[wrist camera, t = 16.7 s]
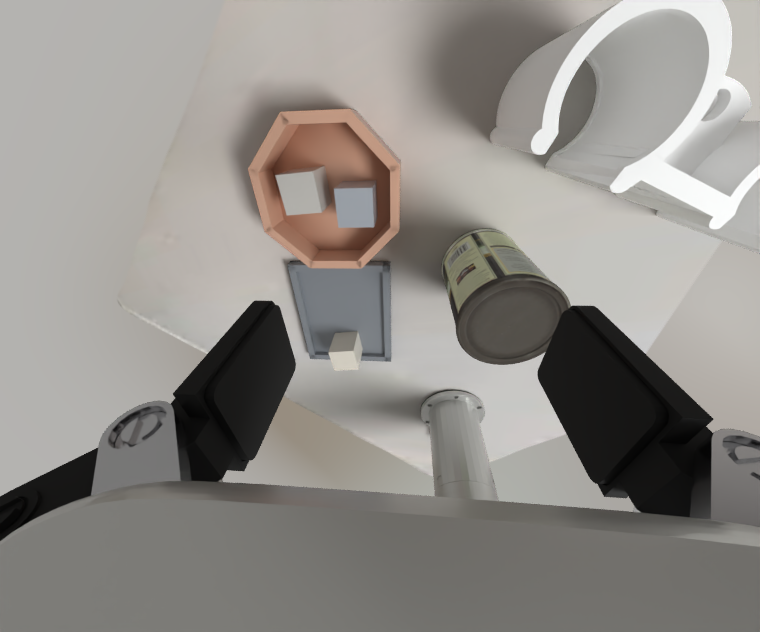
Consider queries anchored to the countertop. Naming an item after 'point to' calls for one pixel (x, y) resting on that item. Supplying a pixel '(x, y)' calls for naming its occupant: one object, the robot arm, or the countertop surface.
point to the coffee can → (500, 298)
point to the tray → (344, 306)
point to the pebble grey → (304, 190)
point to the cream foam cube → (346, 351)
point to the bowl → (342, 163)
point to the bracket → (648, 115)
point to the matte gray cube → (356, 203)
